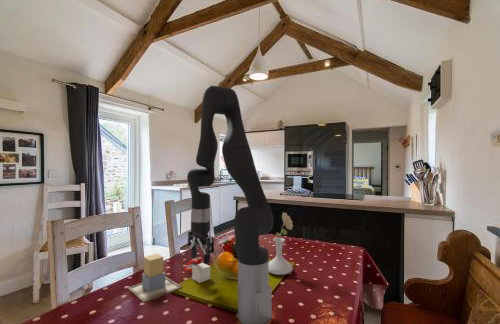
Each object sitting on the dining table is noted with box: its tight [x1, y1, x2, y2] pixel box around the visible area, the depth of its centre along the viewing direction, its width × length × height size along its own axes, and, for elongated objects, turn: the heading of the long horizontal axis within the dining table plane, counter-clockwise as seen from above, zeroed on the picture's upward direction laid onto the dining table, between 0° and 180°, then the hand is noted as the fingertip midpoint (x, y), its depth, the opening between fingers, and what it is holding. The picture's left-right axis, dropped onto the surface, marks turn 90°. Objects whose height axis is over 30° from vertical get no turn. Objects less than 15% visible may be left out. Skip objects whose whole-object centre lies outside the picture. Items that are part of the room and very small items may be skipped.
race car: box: [183, 257, 204, 274], centre depth 111 cm, size 13×5×4 cm, turn 170°
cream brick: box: [191, 262, 211, 284], centre depth 99 cm, size 5×5×6 cm
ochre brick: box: [143, 253, 164, 278], centre depth 92 cm, size 5×5×6 cm
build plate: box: [127, 275, 183, 304], centre depth 92 cm, size 14×14×1 cm
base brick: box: [141, 271, 166, 293], centre depth 92 cm, size 6×6×5 cm
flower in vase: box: [269, 212, 294, 276], centre depth 108 cm, size 13×11×25 cm
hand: (200, 260), depth 99 cm, fingers open, 8 cm apart
